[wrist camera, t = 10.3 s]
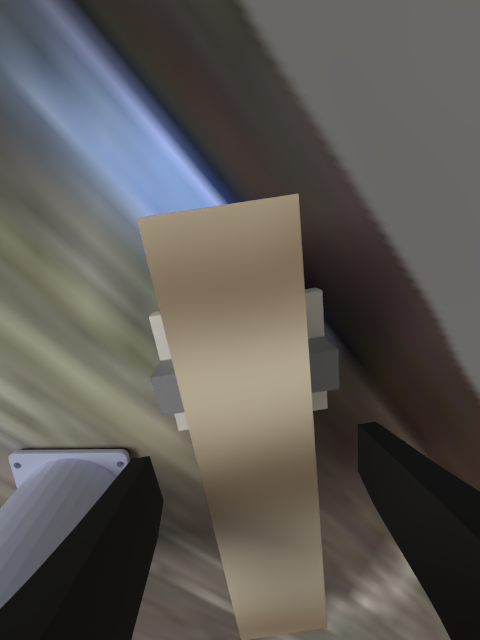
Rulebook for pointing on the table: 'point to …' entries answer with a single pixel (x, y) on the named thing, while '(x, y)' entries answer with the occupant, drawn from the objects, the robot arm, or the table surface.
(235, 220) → the ash beam
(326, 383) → the balance stand
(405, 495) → the robot arm
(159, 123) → the table surface
